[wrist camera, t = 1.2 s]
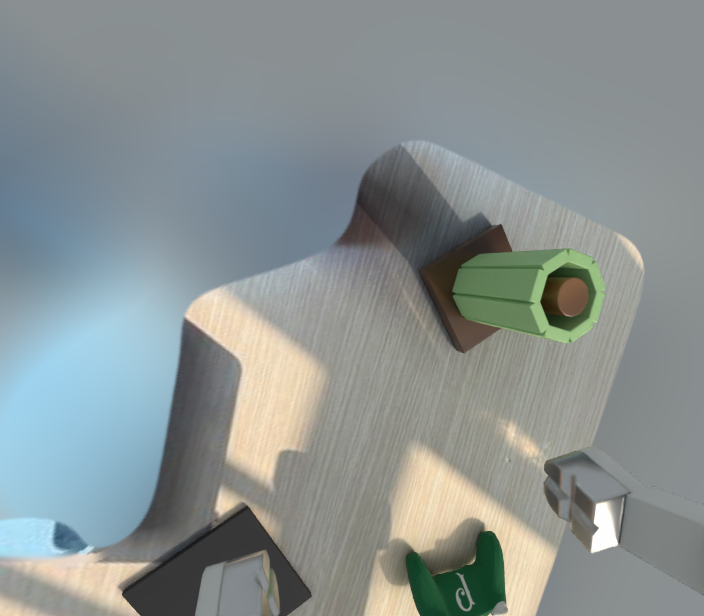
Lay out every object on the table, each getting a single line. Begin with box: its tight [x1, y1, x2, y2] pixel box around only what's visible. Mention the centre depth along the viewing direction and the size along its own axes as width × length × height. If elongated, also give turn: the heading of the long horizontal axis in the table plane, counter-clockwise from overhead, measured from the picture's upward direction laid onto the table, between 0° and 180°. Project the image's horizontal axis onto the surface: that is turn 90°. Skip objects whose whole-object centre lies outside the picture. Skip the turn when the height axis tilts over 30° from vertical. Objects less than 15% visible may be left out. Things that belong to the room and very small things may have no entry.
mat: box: [122, 506, 312, 616], centre depth 28 cm, size 10×10×1 cm
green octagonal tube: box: [452, 248, 605, 343], centre depth 26 cm, size 6×6×8 cm
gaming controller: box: [406, 531, 508, 616], centre depth 32 cm, size 9×4×6 cm
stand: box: [419, 224, 588, 353], centre depth 27 cm, size 8×8×10 cm
